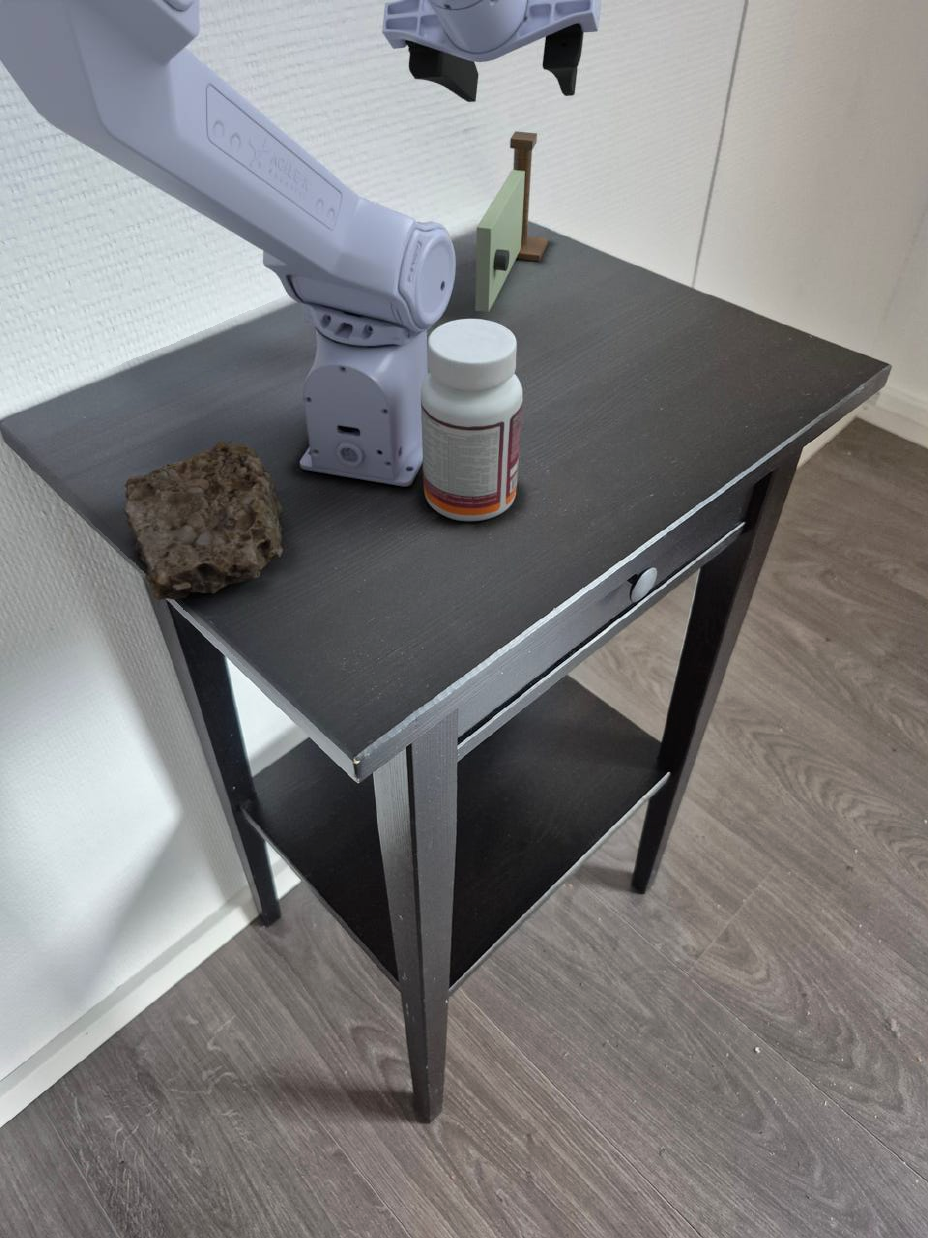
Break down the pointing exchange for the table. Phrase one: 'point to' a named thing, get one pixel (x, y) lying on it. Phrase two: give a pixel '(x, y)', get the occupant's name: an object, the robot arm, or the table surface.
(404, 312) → the robot arm
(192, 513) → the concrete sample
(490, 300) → the door
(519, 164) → the wooden stand
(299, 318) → the table surface
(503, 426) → the pill bottle
